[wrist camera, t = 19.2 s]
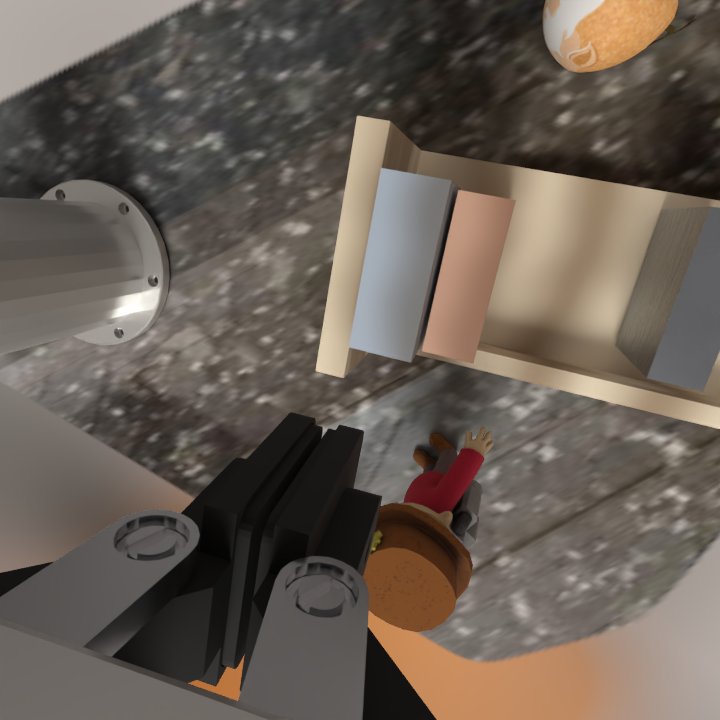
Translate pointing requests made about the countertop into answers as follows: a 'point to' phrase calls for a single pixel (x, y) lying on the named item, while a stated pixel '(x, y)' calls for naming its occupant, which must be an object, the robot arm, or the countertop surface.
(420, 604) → the toy
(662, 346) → the bookend
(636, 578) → the countertop surface
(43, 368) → the countertop surface
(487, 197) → the book rack
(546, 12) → the helmet
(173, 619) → the robot arm
